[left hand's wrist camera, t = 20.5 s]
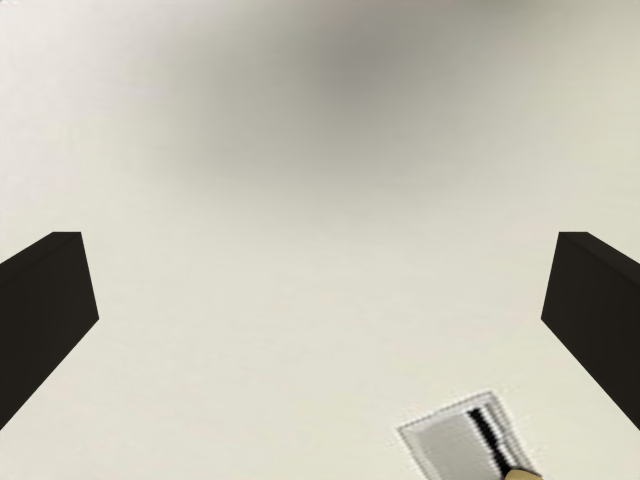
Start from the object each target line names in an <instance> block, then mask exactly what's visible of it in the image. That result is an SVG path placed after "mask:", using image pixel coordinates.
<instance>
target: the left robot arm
mask: <svg viewBox="0 0 640 480" xmlns="http://www.w3.org/2000/svg"><path fill="white" fill-rule="evenodd" d="M98 320H99V315H98V311H97V306H96V301H95V296H94V292H93V287H92V282H91V277H90V273H89V268H88V263H87V258H86V254H85V249H84V244H83V240H82V235H81V232H52V233H50V234H49V235H47V236H45V237H44V238H42V239H40V240H39V241H37V242H35V243H34V244H32V245H30V246H29V247H27V248H26V249H24V250H22V251H21V252H19V253H17V254H16V255H14V256H12V257H11V258H9V259H7V260H6V261H4V262H2V263H1V264H0V430H1V429H2V428H3V427H4V426H5V425H6V424H7V422H8V421H9V420H10V419H11V418H12V417H13V416H14V415H15V413H16V412H17V411H18V410H19V409H20V408H21V407H22V406H23V404H24V403H25V402H26V401H27V400H28V399H29V398H30V396H31V395H32V394H33V393H34V392H35V391H36V390H37V389H38V387H39V386H40V385H41V384H42V383H43V382H44V381H45V380H46V378H47V377H48V376H49V375H50V374H51V373H52V372H53V371H54V369H55V368H56V367H57V366H58V365H59V364H60V363H61V362H62V360H63V359H64V358H65V357H66V356H67V355H68V354H69V352H70V351H71V350H72V349H73V348H74V347H75V346H76V345H77V343H78V342H79V341H80V340H81V339H82V338H83V337H84V336H85V334H86V333H87V332H88V331H89V330H90V329H91V328H92V327H93V325H94V324H95V323H96V322H97V321H98ZM541 320H542V321H543V322H544V323H545V324H546V325H547V327H548V328H549V329H550V330H551V331H552V332H553V333H554V334H555V336H556V337H557V338H558V339H559V340H560V341H561V342H562V343H563V345H564V346H565V347H566V348H567V349H568V350H569V351H570V352H571V354H572V355H573V356H574V357H575V358H576V359H577V360H578V362H579V363H580V364H581V365H582V366H583V367H584V368H585V369H586V371H587V372H588V373H589V374H590V375H591V376H592V377H593V378H594V380H595V381H596V382H597V383H598V384H599V385H600V386H601V387H602V389H603V390H604V391H605V392H606V393H607V394H608V395H609V396H610V398H611V399H612V400H613V401H614V402H615V403H616V404H617V406H618V407H619V408H620V409H621V410H622V411H623V412H624V413H625V415H626V416H627V417H628V418H629V419H630V420H631V421H632V422H633V424H634V425H635V426H636V427H637V428H638V429H639V430H640V264H639V263H638V262H636V261H634V260H633V259H631V258H629V257H628V256H626V255H624V254H623V253H621V252H619V251H618V250H616V249H614V248H613V247H611V246H610V245H608V244H606V243H605V242H603V241H601V240H600V239H598V238H596V237H595V236H593V235H591V234H590V233H588V232H559V235H558V240H557V244H556V249H555V254H554V258H553V263H552V268H551V273H550V277H549V282H548V287H547V292H546V296H545V301H544V306H543V311H542V315H541Z"/></svg>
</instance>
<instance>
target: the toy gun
mask: <svg viewBox="0 0 640 480" xmlns="http://www.w3.org/2000/svg"><path fill="white" fill-rule="evenodd" d="M505 480H543V479H542V478H540V477H538V476H536V475H533V474H531V473H528V472H526V471H522V470H510V472H509V473H508V474H507V476H506V477H505Z"/></svg>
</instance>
